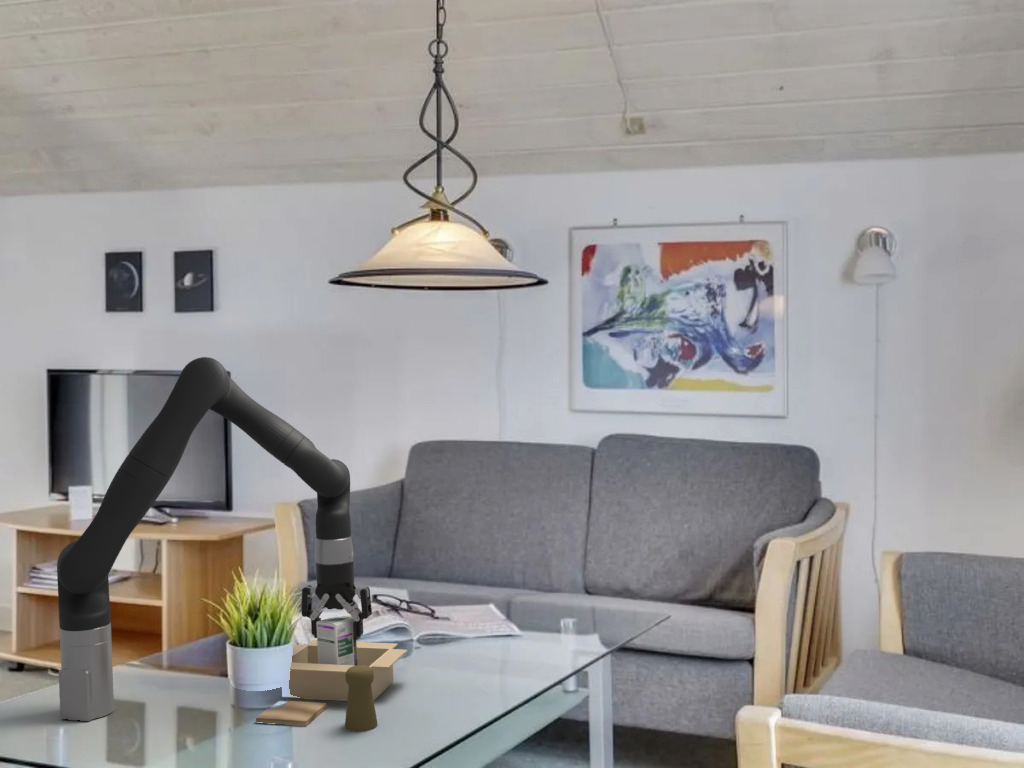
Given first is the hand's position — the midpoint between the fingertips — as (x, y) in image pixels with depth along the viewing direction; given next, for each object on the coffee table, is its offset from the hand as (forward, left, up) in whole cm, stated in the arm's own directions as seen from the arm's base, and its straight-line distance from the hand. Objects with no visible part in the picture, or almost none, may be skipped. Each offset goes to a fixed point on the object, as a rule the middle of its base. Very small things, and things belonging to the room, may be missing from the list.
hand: (337, 637), depth 223 cm
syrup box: (0, 0, -11) cm, 11 cm away
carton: (0, 0, -11) cm, 11 cm away
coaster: (-16, +3, -11) cm, 20 cm away
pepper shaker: (-19, -12, -11) cm, 25 cm away
